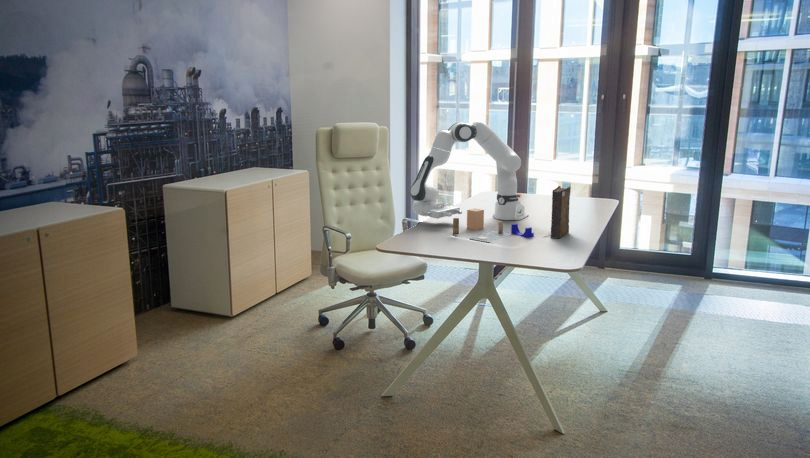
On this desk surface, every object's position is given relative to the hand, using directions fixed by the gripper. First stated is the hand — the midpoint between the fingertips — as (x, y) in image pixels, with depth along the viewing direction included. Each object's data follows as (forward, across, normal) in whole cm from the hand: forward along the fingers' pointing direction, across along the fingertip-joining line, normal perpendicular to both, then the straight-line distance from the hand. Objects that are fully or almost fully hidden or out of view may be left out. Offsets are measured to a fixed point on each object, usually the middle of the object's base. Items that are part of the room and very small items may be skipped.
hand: (456, 213), depth 353 cm
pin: (+12, -16, +8) cm, 21 cm away
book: (+52, +19, +7) cm, 56 cm away
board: (+29, -8, +7) cm, 31 cm away
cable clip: (+40, +4, +8) cm, 41 cm away
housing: (+12, +1, +7) cm, 14 cm away
